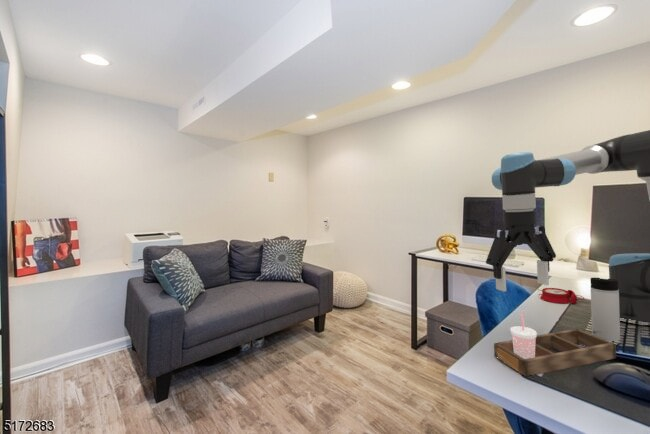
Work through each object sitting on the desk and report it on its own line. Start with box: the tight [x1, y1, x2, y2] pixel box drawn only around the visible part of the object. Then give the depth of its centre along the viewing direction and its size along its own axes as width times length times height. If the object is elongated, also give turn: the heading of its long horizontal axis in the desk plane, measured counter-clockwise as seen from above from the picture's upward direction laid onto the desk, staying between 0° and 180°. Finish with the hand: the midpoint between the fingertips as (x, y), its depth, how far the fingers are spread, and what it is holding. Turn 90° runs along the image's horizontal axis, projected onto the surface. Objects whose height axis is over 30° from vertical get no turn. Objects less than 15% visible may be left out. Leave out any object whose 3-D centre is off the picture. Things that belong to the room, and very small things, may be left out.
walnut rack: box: [493, 328, 617, 377], centre depth 83 cm, size 30×10×4 cm, turn 101°
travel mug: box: [590, 277, 621, 341], centre depth 89 cm, size 6×7×20 cm
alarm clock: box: [537, 287, 585, 305], centre depth 125 cm, size 10×6×15 cm
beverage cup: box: [509, 312, 538, 359], centre depth 81 cm, size 6×6×14 cm
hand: (522, 287), depth 80 cm, fingers open, 13 cm apart
